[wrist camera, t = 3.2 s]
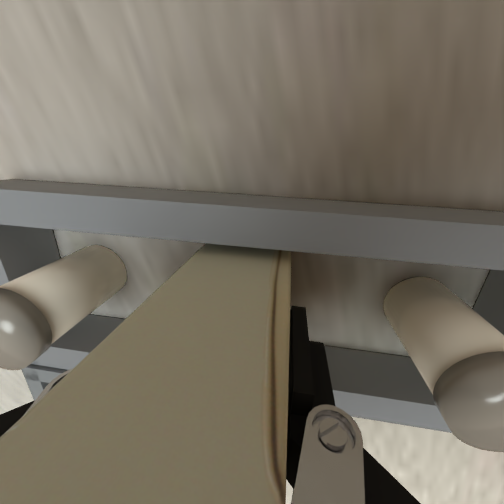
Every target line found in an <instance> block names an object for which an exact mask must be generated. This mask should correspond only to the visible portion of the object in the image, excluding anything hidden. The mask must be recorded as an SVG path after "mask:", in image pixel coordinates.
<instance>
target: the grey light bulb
mask: <svg viewBox="0 0 504 504" xmlns="http://www.w3.org/2000/svg"><path fill="white" fill-rule="evenodd" d="M126 280H127V272H126V268H125V266H124V264H123V262H122V260H121V259H120V258H119V257H118V255H117V254H115V253H114V252H113V251H111V250H110V249H108V248H106V247H103V246H99V245H91V246H87V247H85V248H83V249H81V250H79V251H76V252H74V253H72V254H70V255H68V256H65V257H63V258H61V259H59V260H56V261H54V262H52V263H50V264H48V265H45V266H43V267H41V268H39V269H36V270H34V271H32V272H30V273H28V274H25V275H23V276H21V277H19V278H17V279H14V280H12V281H10V282H8V283H5V284H3V285H1V286H0V368H3V369H7V370H20V369H23V368H26V367H27V366H29V365H30V364H31V363H32V362H34V361H35V360H36V359H37V358H38V357H40V356H41V355H42V354H43V353H45V352H46V351H47V350H48V349H49V348H50V346H51V344H52V343H53V342H55V341H56V340H57V339H59V338H60V337H61V336H62V335H64V334H65V333H66V332H67V331H69V330H70V329H71V328H72V327H74V326H75V325H76V324H77V323H79V322H80V321H81V320H82V319H84V318H85V317H86V316H87V315H89V314H90V313H91V312H93V311H94V310H95V309H96V308H98V307H99V306H100V305H101V304H103V303H104V302H105V301H106V300H108V299H109V298H110V297H111V296H113V295H114V294H115V293H116V292H118V291H119V290H120V289H121V288H123V286H124V285H125V283H126Z"/></svg>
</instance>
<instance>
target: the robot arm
mask: <svg viewBox="0 0 504 504" xmlns="http://www.w3.org/2000/svg"><path fill="white" fill-rule="evenodd" d="M71 370H72V369H70V370H68V371H66V372H64V373H62V374H60V375H58V376H57V377H56V378H54V379H53V380H52V381H51V382H50V383H49V384H48V385H47V386H46V387H45V389H44V390H43V391H42V392H41V394H40V395H39V396H38V397H37V399H36V400H35V401H32V402H30V403H28V404H25V405H23V406H20V407H18V408H15V409H13V410H11V411H8V412H6V413H3V414H1V415H0V437H1V436H2V435H3V434H4V433H5V432H6V431H8V430H9V429H10V428H11V427H12V426H13V425H14V424H15V423H16V422H17V421H18V420H19V419H21V418H22V417H23V416H24V415H25V414H26V413H27V412H28V411H29V410H30V409H31V408H32V407H33V406H34V405H35V404H36V403H37V402H39V401H40V400H41V399H42V398H43V397H44V396H45V395H46V394H47V393H48V392H49V391H50V390H51V389H52V388H53V387H54V386H55V385H56V384H58V383H59V382H60V381H61V380H62V379H63V378H64V377H65V376H66V375H67V374H68V373H69V372H70V371H71ZM286 479H287V480H288V482H289V483H290V485H291V486H292V488H293V495H292V501H291V504H420V503H419V502H418V501H417V500H416V499H415V498H414V497H413V496H412V495H411V494H410V493H409V492H408V491H407V490H406V489H405V488H404V487H403V486H402V485H401V484H400V483H399V482H398V481H397V480H396V479H395V478H394V477H393V476H392V475H391V474H390V473H389V472H388V471H387V470H386V469H385V468H384V467H383V466H382V465H380V464H379V463H378V462H377V461H376V460H375V459H374V458H373V457H372V456H371V455H370V454H369V453H368V452H367V451H366V450H365V449H364V448H363V440H362V435H361V431H360V429H359V427H358V425H357V423H356V422H355V421H354V420H353V418H352V417H351V416H350V415H349V414H347V413H346V412H345V411H344V410H342V409H340V408H338V407H336V406H335V400H334V395H333V389H332V384H331V379H330V373H329V368H328V362H327V357H326V351H325V346H324V344H323V343H320V342H313V341H309V337H308V327H307V317H306V308H305V307H297V306H292V308H291V309H290V338H289V380H288V423H287V461H286Z"/></svg>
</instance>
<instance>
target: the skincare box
mask: <svg viewBox="0 0 504 504" xmlns="http://www.w3.org/2000/svg"><path fill="white" fill-rule="evenodd" d="M290 291H291V251H285V250H274V249H263V248H252V247H241V246H230V245H219V244H208V243H206V244H205V245H204V246H203V247H202V248H201V249H200V250H198V251H197V252H196V253H195V254H194V255H193V256H192V257H191V258H190V259H189V260H188V261H187V262H186V263H185V264H184V265H182V266H181V267H180V268H179V269H178V270H177V271H176V272H175V273H174V274H173V275H172V276H171V277H170V278H169V279H168V280H167V281H166V282H165V283H164V284H162V285H161V286H160V287H159V288H158V289H157V290H156V291H155V292H154V293H153V294H152V295H151V296H150V297H149V298H147V299H146V300H145V301H144V302H143V303H142V304H141V305H140V306H139V307H138V308H137V309H136V310H135V311H134V312H133V313H132V314H131V315H130V316H128V317H127V318H126V319H125V320H124V321H123V322H122V323H121V324H120V325H119V326H118V327H117V328H116V329H115V330H114V331H113V332H112V333H111V334H109V335H108V336H107V337H106V338H105V339H104V340H103V341H102V342H101V343H100V344H99V345H98V346H97V347H96V348H95V349H93V350H92V351H91V352H90V353H89V354H88V355H87V356H86V357H85V358H84V359H83V360H82V361H81V362H80V363H79V364H78V365H77V366H75V367H74V368H73V369H72V370H71V371H70V372H69V373H68V374H67V375H66V376H65V377H64V378H63V379H62V380H61V381H60V382H59V383H58V384H56V385H55V386H54V387H53V388H52V389H51V390H50V391H49V392H48V393H47V394H46V395H45V396H44V397H43V398H42V399H41V400H40V401H39V402H37V403H36V404H35V405H34V406H33V407H32V408H31V409H30V410H29V411H28V412H27V413H26V414H25V415H24V416H23V417H22V418H21V419H19V420H18V421H17V422H16V423H15V424H14V425H13V426H12V427H11V428H10V429H9V430H8V431H6V432H5V433H4V434H3V435H2V436H1V437H0V504H285V500H286V461H287V423H288V380H289V338H290Z"/></svg>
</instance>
